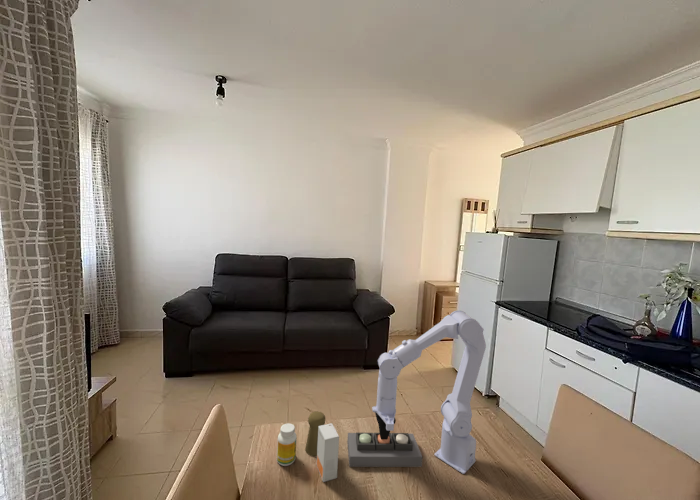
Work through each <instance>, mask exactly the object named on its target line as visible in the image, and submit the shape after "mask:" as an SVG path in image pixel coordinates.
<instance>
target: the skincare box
mask: <svg viewBox="0 0 700 500" xmlns="http://www.w3.org/2000/svg"><path fill="white" fill-rule="evenodd" d="M339 445H340V436H339V434H338V432H337V429H336V427H335V425H333V423H332V422H331V423H328V424H324V425H321V426H318V444H317V456H316V465H315V466H316V468H317V471H318V473H319V475H320V477H321V479H320V480H322V483H325V482H328V481H332V480H335V479H337V478H338V466H339V465H338V463H339V450H340V449H339V448H340V447H339Z"/></svg>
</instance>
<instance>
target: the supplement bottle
mask: <svg viewBox="0 0 700 500" xmlns="http://www.w3.org/2000/svg"><path fill="white" fill-rule="evenodd" d="M295 431H296V427H295V425H294V424H292V423H290V422H287V423H284V424H282V425H281V427H280V429H279V434H278V436H277V442H276V443H277V444H276V462H277V463H278V465H280V466H282V467H283V466H284V467H287V466H290V465H292V464H294V462H295V460H296V458H297V456H296V455H297V438H298V437H297V434H296V432H295Z"/></svg>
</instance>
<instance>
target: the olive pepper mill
mask: <svg viewBox="0 0 700 500" xmlns="http://www.w3.org/2000/svg"><path fill="white" fill-rule="evenodd" d="M307 419H308V420H307V422H308V426H309V427H308V433H307V438H306V443H305V444H306V445H305V449H304V450H305V453H306V454H307V455H309V456H311V457H317V444H318V426H321V425H326V424H325V423H326V416H325V414H324V413H323V412H322V411H319V410H317V411H313V412H311V413H310V414H309V416H308V417H307Z"/></svg>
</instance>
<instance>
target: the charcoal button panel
mask: <svg viewBox="0 0 700 500" xmlns="http://www.w3.org/2000/svg"><path fill="white" fill-rule="evenodd" d="M361 434H369V435H370V436H371V443H359V437H360V435H361ZM379 434H380V433H379V432H347V439H346V440H347V441H346V443H347V453H348V467H350V468H352V467H354V468H357V467H358V468H359V467H360V468H361V467H362V468H363V467H364V468H365V467H366V468H367V467H368V468H369V467H370V468H371V467H373V468H374V467H375V468H376V467H377V468H378V467H379V468H380V467H381V468H383V467H385V468H395V467H397V468H401V467H402V468H403V467H404V468H421V467H422V468H423V455H422V452H421V449H420V448H419V447H420V446H419V445H418V443H417V440H416V437H415V436H414V435H415V434H414V433H409V432H407V433H406V432H392V433H391V432H390V433H389V437H390V444H381V443H378V435H379ZM398 434H404V435H406V436H407V437H408V444H397V443H396V436H397V435H398Z"/></svg>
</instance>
